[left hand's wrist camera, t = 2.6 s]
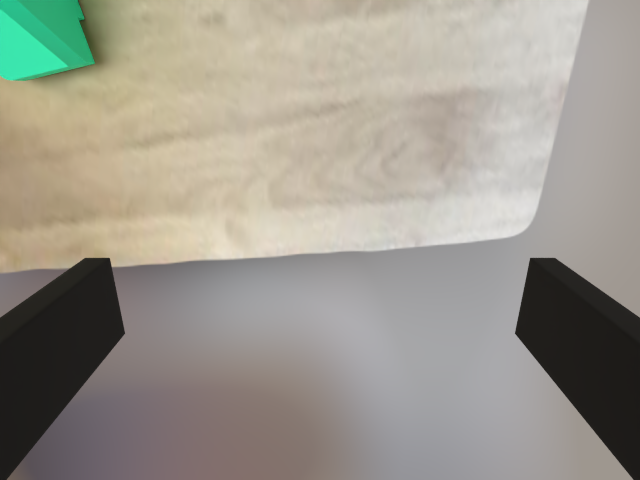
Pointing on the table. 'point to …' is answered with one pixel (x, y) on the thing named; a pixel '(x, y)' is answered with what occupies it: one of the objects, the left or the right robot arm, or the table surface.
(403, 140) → the table surface
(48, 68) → the camera mount
